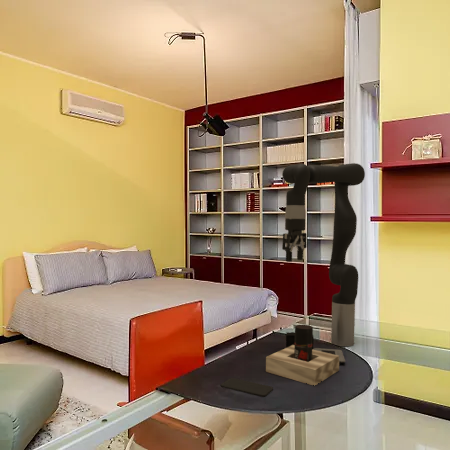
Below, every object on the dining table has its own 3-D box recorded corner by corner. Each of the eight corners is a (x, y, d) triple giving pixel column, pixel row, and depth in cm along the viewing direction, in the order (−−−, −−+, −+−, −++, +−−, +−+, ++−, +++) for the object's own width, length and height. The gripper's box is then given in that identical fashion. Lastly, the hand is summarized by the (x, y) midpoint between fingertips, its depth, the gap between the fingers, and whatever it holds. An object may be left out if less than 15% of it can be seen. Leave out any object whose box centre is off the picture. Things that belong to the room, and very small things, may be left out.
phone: (230, 377, 133) (274, 387, 125) (230, 380, 133) (274, 389, 125) (219, 385, 126) (264, 395, 119) (219, 387, 126) (264, 398, 119)
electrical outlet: (345, 367, 147) (345, 360, 147) (314, 364, 149) (314, 358, 149) (341, 355, 160) (341, 349, 160) (313, 353, 162) (313, 347, 162)
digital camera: (312, 350, 164) (312, 332, 164) (313, 354, 159) (313, 336, 158) (285, 348, 165) (286, 331, 165) (285, 353, 160) (286, 334, 160)
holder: (292, 358, 153) (293, 345, 153) (338, 370, 142) (339, 355, 142) (265, 371, 139) (266, 356, 139) (314, 386, 128) (315, 369, 128)
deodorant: (315, 370, 141) (316, 327, 141) (305, 375, 137) (306, 330, 137) (300, 366, 145) (301, 323, 145) (290, 370, 141) (291, 326, 141)
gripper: (295, 217, 164) (295, 258, 164) (276, 217, 153) (276, 261, 153) (313, 218, 159) (312, 260, 160) (294, 217, 148) (294, 263, 148)
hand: (294, 260), depth 156 cm, fingers open, 8 cm apart
